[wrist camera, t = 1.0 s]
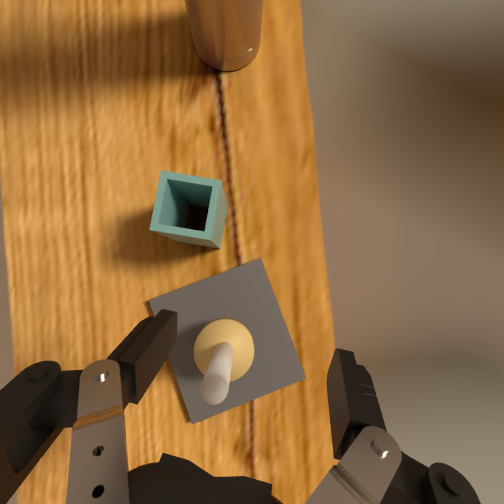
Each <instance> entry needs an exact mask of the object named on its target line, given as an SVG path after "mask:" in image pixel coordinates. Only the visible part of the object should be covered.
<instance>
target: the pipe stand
mask: <svg viewBox="0 0 504 504" xmlns="http://www.w3.org/2000/svg"><path fill="white" fill-rule="evenodd" d="M149 303H150V306H151V309H152V311H153V314H154V317H155V316H156V315H157V313H158V312H159V311H160V310H161V309H166V310H171V311H175V312H177V314H178V319H177V339H176V343H175V345H174V347H173V349H172V351H171V352H170V354H169V355H168V357H169V360H170V363H171V366H172V368H173V371H174V374H175V377H176V380H177V383H178V386H179V388H180V391H181V394H182V397H183V400H184V403H185V405H186V408H187V411H188V414H189V417H190V420H191V423H192V424H194V423H197V422H199V421H202V420H204V419H207V418H209V417H212V416H214V415H217V414H219V413H222V412H224V411H226V410H229V409H231V408H234V407H236V406H239V405H241V404H244V403H246V402H249V401H251V400H254V399H256V398H259V397H261V396H264V395H266V394H268V393H271V392H273V391H276V390H278V389H281V388H283V387H286V386H288V385H291V384H293V383H296V382H298V381H301V380H303V379H305V378H306V377H305V374H304V371H303V369H302V366H301V364H300V361H299V358H298V356H297V353H296V350H295V348H294V345H293V342H292V340H291V337H290V335H289V332H288V329H287V327H286V324H285V321H284V319H283V316H282V314H281V311H280V308H279V306H278V303H277V300H276V298H275V295H274V292H273V290H272V287H271V285H270V282H269V279H268V277H267V274H266V271H265V269H264V266H263V263H262V261H261V258H260V259H257V260H254V261H252V262H249V263H246V264H244V265H241V266H238V267H236V268H233V269H230V270H228V271H225V272H223V273H220V274H217V275H215V276H212V277H209V278H207V279H204V280H201V281H199V282H196V283H193V284H191V285H188V286H185V287H183V288H180V289H177V290H175V291H172V292H169V293H167V294H164V295H162V296H159V297H156V298H154V299H151V300H149Z"/></svg>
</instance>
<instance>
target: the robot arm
mask: <svg viewBox="0 0 504 504" xmlns="http://www.w3.org/2000/svg"><path fill="white" fill-rule="evenodd" d="M185 5H186V9H187V14H188V19H189V24H190V28H191V33H192V37H193V42H194V46H195V49H196V52H197V54H198V55H199V57H200V58H201V59H202V60H203V61H204V62H205V63H206V64H207V65H209V66H210V67H212V68H215V69H217V70H222V71H233V70H238V69H240V68H243V67H245V66H246V65H248V64H249V63H250V62H251V61H252V60H253V59H254V58H255V56H256V54H257V52H258V50H259V46H260V36H261V22H262V10H263V0H185ZM177 319H178V314H177V312H175V311H171V310H166V309H161V310H160V311H159V312H158V313H157V315H156V316H155V317H150V316H149V317H147V318H146V319H144V320H142V321H140V322H139V323H138V324H137V326H136V327H135V328H134V329H133V331H131V332H130V333H129V334H128V336H127V337H126V338H125V339H124V340H123V341H122V342H121V343H120V344H119V345H118V346H117V348H116V349H115V350H114V351H113V352H112V353H111V354H110V355H109V356H108V358H107V359H105V360H99V361H96V362H94V363H92V364H90V365H89V366H87V367H86V368H85V369H84V370H69V371H61V368H60V365H59V364H58V363H57V362H54V361H42V362H38V363H35V364H33V365H31V366H29V367H27V368H26V369H24V370H23V371H22V372H21V373H19V374H18V375H17V376H16V377H15V378H14V379H13V380H12V381H10V382H9V383H8V384H7V385H6V386H5V387H4V388H3V389H1V390H0V504H6V503H7V502H8V500H9V499H10V498H11V497H12V495H13V494H14V493H15V491H16V490H17V489H18V488H19V486H20V485H21V484H22V482H23V481H24V480H25V478H26V477H27V476H28V474H29V473H30V472H31V471H32V469H33V468H34V467H35V465H36V464H37V463H38V461H39V460H40V459H41V458H42V456H43V455H44V454H45V452H46V451H47V450H48V448H49V447H50V446H51V444H52V443H53V442H54V441H55V439H56V438H57V437H58V435H59V434H60V433H61V431H62V430H63V429H64V428H68V427H73V430H72V441H71V453H70V464H69V476H68V487H67V498H66V504H283V503H282V502H280V501H279V500H278V499H277V498H276V497H274V496H273V495H271V492H272V484H270V483H266V482H263V481H259V480H256V479H252V478H249V477H245V476H236V477H214V476H212V475H210V474H209V473H207V472H206V471H204V470H203V469H201V468H200V467H198V466H197V465H195V464H194V463H192V462H191V461H189V460H186V459H183V458H179V457H176V456H172V455H169V454H165V453H163V454H162V456H161V458H160V461H159V462H155V463H149V464H145V465H142V466H139V467H137V468H135V469H133V470H131V471H129V467H128V455H127V443H126V430H125V418H124V409H125V408H126V406H127V405H128V403H129V402H130V403H134V404H138V403H139V401H140V400H141V398H142V397H143V395H144V393H145V392H146V390H147V389H148V387H149V386H150V384H151V382H152V381H153V379H154V378H155V376H156V374H157V373H158V371H159V370H160V368H161V366H162V365H163V363H164V362H165V360H166V359H167V357H168V355H169V354H170V352H171V351H172V349H173V347H174V345H175V343H176V339H177ZM327 393H328V403H329V413H330V424H331V434H332V444H333V455H334V458H335V459H338V460H340V461H339V463H338V464H337V465H336V466H335V465H334V466H333V467H332V468H331V469H330V471H329V472H328V473H327V475H326V476H325V477H324V479H323V480H322V481H321V483H320V484H319V485H318V487H317V488H316V489H315V491H314V492H313V493H312V495H311V496H310V498H309V499H308V500H307V502H306V503H305V504H481V503H480V501H479V499H478V496H477V494H476V492H475V490H474V489H473V487H472V486H471V484H470V483H469V482H468V481H467V480H466V478H465V477H464V476H463V475H462V474H461V473H459V472H458V471H457V470H455V469H454V468H452V467H451V466H449V465H446V464H444V463H434V464H432V465H431V466H430V467H429V468H428V467H427V466H424V465H423V464H421V463H420V462H418V461H416V460H414V459H413V458H411V457H409V456H408V455H406V454H404V453H403V452H402V451H401V450H400V448H399V446H398V444H397V442H396V441H395V439H394V438H393V437H392V436H391V435H390V434H389V433H387V430H386V427H385V423H384V420H383V417H382V413H381V410H380V406H379V403H378V399H377V397H376V392H375V389H374V385H373V382H372V378H371V376H370V374H369V373H368V371H367V370H366V369H365V367H364V366H362V365H358V364H356V360H355V356H354V353H353V352H352V351H347V350H343V349H339V348H336V350H335V352H334V355H333V358H332V361H331V364H330V367H329V370H328V374H327Z"/></svg>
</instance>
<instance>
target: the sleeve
mask: <svg viewBox="0 0 504 504" xmlns="http://www.w3.org/2000/svg"><path fill="white" fill-rule="evenodd" d="M189 205H193V206H199V207H205V208H209V210H208V215H207V221H206V226H205V232H204V231H198V230H192V229H186V228H185V223H186V218H187V212H188V207H189ZM227 208H228V205H227V201H226V197H225V193H224V190H223V186H222V182H221V180H215V179H209V178H203V177H197V176H191V175H185V174H179V173H173V172H167V171H162V170H161V173H160V178H159V183H158V188H157V193H156V199H155V204H154V209H153V214H152V219H151V224H150V229H149V230H151V231H153V232H155V233H158V234H160V235H162V236H165V237H167V238H169V239H172V240H174V241H176V242H182V243H188V244H194V245H200V246H206V247H212V248H218V249H220V248H221V242H222V236H223V231H224V225H225V219H226V213H227Z"/></svg>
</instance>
